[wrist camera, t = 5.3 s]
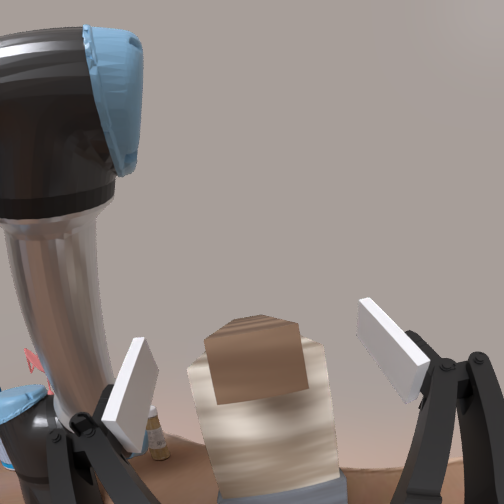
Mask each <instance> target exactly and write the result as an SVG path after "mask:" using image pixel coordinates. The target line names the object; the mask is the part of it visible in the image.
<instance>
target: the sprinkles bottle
mask: <svg viewBox="0 0 504 504" xmlns="http://www.w3.org/2000/svg"><path fill="white" fill-rule="evenodd" d="M146 430H147V433H148V441H149V446H148V447H149V449H150V452H151V455H152V458H153V459H155V460H164V459H167V458H168V457H169V456H170V453H169V451H168V448H167V445H166V441H165V438H164V435H163V432H162V428H161V426H160V423H159V419H158V415H157V410H156V407H155V406H153V405H151V407H150V411H149V416H148V420H147V425H146Z"/></svg>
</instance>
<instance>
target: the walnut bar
mask: <svg viewBox="0 0 504 504" xmlns="http://www.w3.org/2000/svg"><path fill="white" fill-rule="evenodd" d="M204 344H205V349H206V354H207V359H208V364H209V369H210V374H211V379H212V384H213V388H214V393H215V397H216V402H217V405H224V404H231V403H239V402H245V401H252V400H258V399H263V398H269V397H274V396H279V395H284V394H289V393H293V392H298V391H302V390H306V389H309V385H308V378H307V372H306V366H305V360H304V354H303V349H302V343H301V337H300V332H299V326H298V323H295V322H290V321H286V320H282V319H277V318H273V317H269V316H265V315H257V316H252V317H245V318H240V319H234V320H232V321H231V322H229V323H228V324H226V325H225V326H223V327H222V328H220V329H219V330H217V331H216V332H215V333H213V334H212V335H210V336H209V337H207V338H206V339H204Z"/></svg>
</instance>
